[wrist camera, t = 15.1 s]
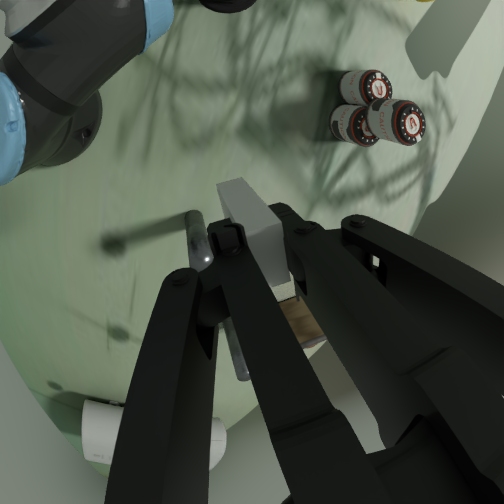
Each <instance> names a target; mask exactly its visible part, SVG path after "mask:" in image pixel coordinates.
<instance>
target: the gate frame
mask: <svg viewBox="0 0 504 504" xmlns="http://www.w3.org/2000/svg"><path fill="white" fill-rule="evenodd" d="M185 225H186V236H187V246H188V256H189V265H190V268H193V269H195V270H196V271H197V272H200V271H202V270H204V269H205V268H207V267H208V266H209V265H210V264H211V263H212V261H213V255H212V251H211V248H210V244H209V241H208V238H207V236H208V235H207V231H206V227H205V223H204V219H203V215H202V213H201V212H200V211H198V210H191V211H189V212H188V213H187V214H186V216H185ZM222 322H223V326H224V330H225V334H226V338H227V342H228V346H229V350H230V353H231V357H232V361H233V365H234V368H235V372H236V375H237V379H238V380H239V381H248V380H250V379H251V378H250V375H249V372H248V369H247V366H246V363H245V360H244V357H243V354H242V351H241V347H240V344H239V341H238V338H237V335H236V332H235V328H234V325H233V322H232V319H231V316H230V317H229V318H227V319H225V320H224V321H222ZM317 344H318V343H317ZM317 344H315V345H317ZM315 345H312V346H310V347H307V348H311V347H314V346H315Z"/></svg>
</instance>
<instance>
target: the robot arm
mask: <svg viewBox="0 0 504 504" xmlns="http://www.w3.org/2000/svg"><path fill="white" fill-rule="evenodd" d="M0 9H1V10H2V11H4V12H5V16H6V21H5V36H6V37H8V38H9V39H11V40H12V41H14V43H13V44H12V45H11V47H10V48H9V49H8V50H7V52H6V53H5V54H4V55H3V57H2V58H1V59H0V185H5V184H6V183H9V181H12V179H13V178H15V177H16V176H18V175H20V174H22V173H23V172H25V171H27V170H29V169H31V168H32V167H34V166H36V165H38V164H41V165H46V166H56V165H61V164H64V163H67V162H69V161H71V160H73V159H74V158H76V157H78V156H79V155H80V154H82V153H83V152H84V151H85V150H86V149H87V148H88V147H89V146H90V144H91V143H92V141H93V140H94V138H95V136H96V134H97V132H98V130H99V127H100V123H101V119H102V100H101V96H100V93H99V91H98V89H99V88H100V87H101V86H102V85H103V84H104V83H105V82H106V81H107V80H109V79H110V78H111V77H112V76H113V75H114V74H115V73H116V72H117V71H119V70H120V69H121V68H122V67H123V66H124V65H125V64H127V63H128V62H129V61H130V60H131V59H133V58H134V57H135V56H136V55H140V54H142V53H144V52H145V51H146V49H147V48H148V46H149V45H151V44H152V43H153V42H154V41H156V40H157V39H158V38H159V37H161V36H162V35H163V34H165V33H166V32H167V31H168V29H169V28H170V25H171V23H172V22H173V17H174V8H173V3H172V0H0ZM216 186H217V190H218V194H219V197H220V201H221V205H222V209H223V213H224V216H225V219H223V220H220V221H216V222H213V223H210V224H209V226H208V227H207V233H208V236H207V238H208V241H209V244H210V248H211V251H212V254H213V257H214V259H213V261H212V263H211V264H210V265H209V266H208V267H207V268H205V269H204V270H202V271H200V272H197V271H196V270H195V269H193V268H190V267H189V268H181V269H177V270H175V271H173V272H171V273H170V274H169V275H168V276H166V278H165V279H164V281H163V283H162V286H161V288H160V291H159V294H158V297H157V300H156V303H155V306H154V308H153V311H152V314H151V317H150V320H149V324H148V327H147V330H146V333H145V336H144V339H143V342H142V346H141V349H140V352H139V355H138V359H137V362H136V365H135V369H134V372H133V376H132V379H131V383H130V387H129V390H128V394H127V398H126V402H125V406H124V409H123V413H122V417H121V422H120V426H119V430H118V434H117V439H116V443H115V448H114V453H113V457H112V462H111V467H110V473H109V478H108V484H107V490H106V496H105V502H104V504H208V488H209V466H210V446H211V429H212V413H213V398H214V384H215V371H216V358H217V346H218V334H219V326H218V323H220V322H222V321H224V320H225V319H227V318H229V317H230V316H231V319H232V322H233V325H234V328H235V332H236V335H237V338H238V341H239V344H240V347H241V351H242V354H243V357H244V360H245V363H246V366H247V369H248V372H249V375H250V378H251V381H252V384H253V387H254V390H255V393H256V396H257V399H258V402H259V405H260V408H261V410H262V414H263V417H264V419H265V422H266V425H267V428H268V431H269V435H270V439H271V442H272V445H273V448H274V450H275V453H276V456H277V459H278V461H279V464H280V467H281V470H282V472H283V475H284V477H285V480H286V483H287V485H288V488H289V490H290V493H291V494H290V495H289V496H288V497H287V498H286V499H285V500H284V501H283V502H282V503H281V504H504V398H503V397H502V395H503V396H504V286H503V285H501V284H500V283H498V282H496V281H495V280H493V279H491V278H489V277H488V276H486V275H484V274H483V273H481V272H479V271H477V270H475V269H474V268H472V267H470V266H468V265H466V264H464V263H463V262H461V261H459V260H457V259H455V258H453V257H451V256H450V255H448V254H446V253H444V252H442V251H440V250H438V249H436V248H434V247H432V246H430V245H428V244H426V243H424V242H422V241H420V240H418V239H415V238H414V237H412V236H410V235H408V234H405V233H403V232H401V231H399V230H397V229H395V228H393V227H390V226H388V225H386V224H384V223H382V222H379V221H377V220H375V219H373V218H370V217H368V216H364V215H358V214H355V215H350V216H348V217H345V218H344V219H342V221H341V229H332V230H325V229H324V228H323V227H322V226H321V225H320V224H318V223H316V222H312V221H304V220H303V219H302V218H301V217H300V216H299V215H298V214H297V213H296V212H295V211H294V210H292V208H291V207H290V206H288V205H287V204H284V203H280V202H279V203H276V204H272V205H269V206H267V205H266V204H265V203H264V201H263V200H262V199H261V198H260V197H259V196H258V195H257V194H256V192H255V191H254V190H253V189H252V188H251V187H250V186H249V185H248V184H247V182H246V181H245V180H244V179H243V178H242V177H241V178H237V179H233V180H230V181H226V182H223V183H219V184H216ZM373 255H374V256H376V257H377V258H379V267H377V266H375V265H373ZM289 271H290V272H291V274H292V275H293V278H294V285H295V293H296V299H297V302H299V301H300V299H299V296H301V298H302V299H303V301H304V302H305V304H306V306H307V307H308V309H309V310H310V312H311V314H312V315H313V317H314V318H315V320H316V322H317V323H318V325H319V326H320V328H321V330H322V331H323V333H324V334H325V336H326V338H327V339H328V341H329V343H330V344H331V346H332V347H333V349H334V351H335V352H336V354H337V356H338V357H339V359H340V361H341V362H342V364H343V365H344V367H345V368H346V370H347V372H348V374H349V375H350V377H351V378H352V380H353V382H354V384H355V385H356V387H357V388H358V390H359V391H360V393H361V395H362V397H363V398H364V400H365V402H366V404H367V405H368V407H369V408H370V410H371V412H372V414H373V415H374V417H375V419H376V421H377V423H378V427H379V434H380V437H381V440H382V442H383V444H384V446H385V448H386V449H384V450H381V451H377V452H374V453H369V454H366V452H365V451H364V449H363V447H362V445H361V443H360V442H359V440H358V438H357V436H356V434H355V433H354V430H353V429H352V427H351V425H350V423H349V422H348V420H347V418H346V417H345V415H344V414H343V413H342V412H341V411H340V410H337V409H335V408H334V407H333V405H332V404H331V402H330V401H329V398H328V396H327V395H326V393H325V391H324V389H323V387H322V385H321V383H320V381H319V380H318V377H317V376H316V374H315V372H314V370H313V368H312V366H311V364H310V362H309V360H308V358H307V357H306V355H305V353H304V351H303V349H302V347H301V345H300V343H299V341H298V340H297V338H296V336H295V334H294V332H293V330H292V328H291V326H290V324H289V322H288V321H287V319H286V317H285V315H284V313H283V311H282V309H281V307H280V305H279V303H278V302H277V300H276V298H275V296H274V294H273V292H272V290H271V287H274V286H277V285H280V284H283V283H286V282H289V281H291V279H290V273H289Z"/></svg>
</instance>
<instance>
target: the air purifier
mask: <svg viewBox="0 0 504 504" xmlns="http://www.w3.org/2000/svg"><path fill="white" fill-rule="evenodd" d="M112 404H114V405H116V406H114V405H112ZM123 409H124V407H119V402H115V401H109V404H104V403H100V402H95V401H91V400H87V399H85V401H84V406H83V414H82V445H83V452H84V456H85V459H86V460H90V461H95V462H100V463H105V464H111V462H112V457H113V453H114V448H115V443H116V439H117V434H118V430H119V426H120V422H121V417H122V413H123ZM226 435H227V434H226V431H225V427H224V424H223V422H222V420H221V419H220V418H213V417H212V429H211V446H210V466H209V470H211V469H212V468H213V467H214V466H215V465H216V464H217V463H218V462H219V461H220V459H221V458H222V456H223V454H224V452H225V448H226Z"/></svg>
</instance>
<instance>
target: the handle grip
mask: <svg viewBox="0 0 504 504" xmlns="http://www.w3.org/2000/svg"><path fill="white" fill-rule="evenodd" d="M199 1H200V2H201V3H202V4H203V5H204V6H205V7H207V8H208V9H211V10H213V11H216V12H220V13H236V12H240V11H243V10H246V9H247V8H249V7H250V6H252V5H253V4H254V3H255V2H256V0H199Z"/></svg>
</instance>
